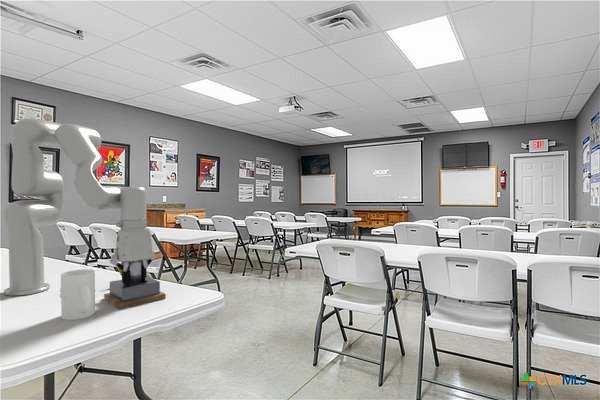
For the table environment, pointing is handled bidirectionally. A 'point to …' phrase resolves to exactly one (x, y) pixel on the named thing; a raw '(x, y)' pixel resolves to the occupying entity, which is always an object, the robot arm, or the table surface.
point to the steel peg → (135, 272)
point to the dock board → (134, 302)
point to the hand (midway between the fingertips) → (134, 280)
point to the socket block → (134, 289)
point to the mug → (77, 294)
